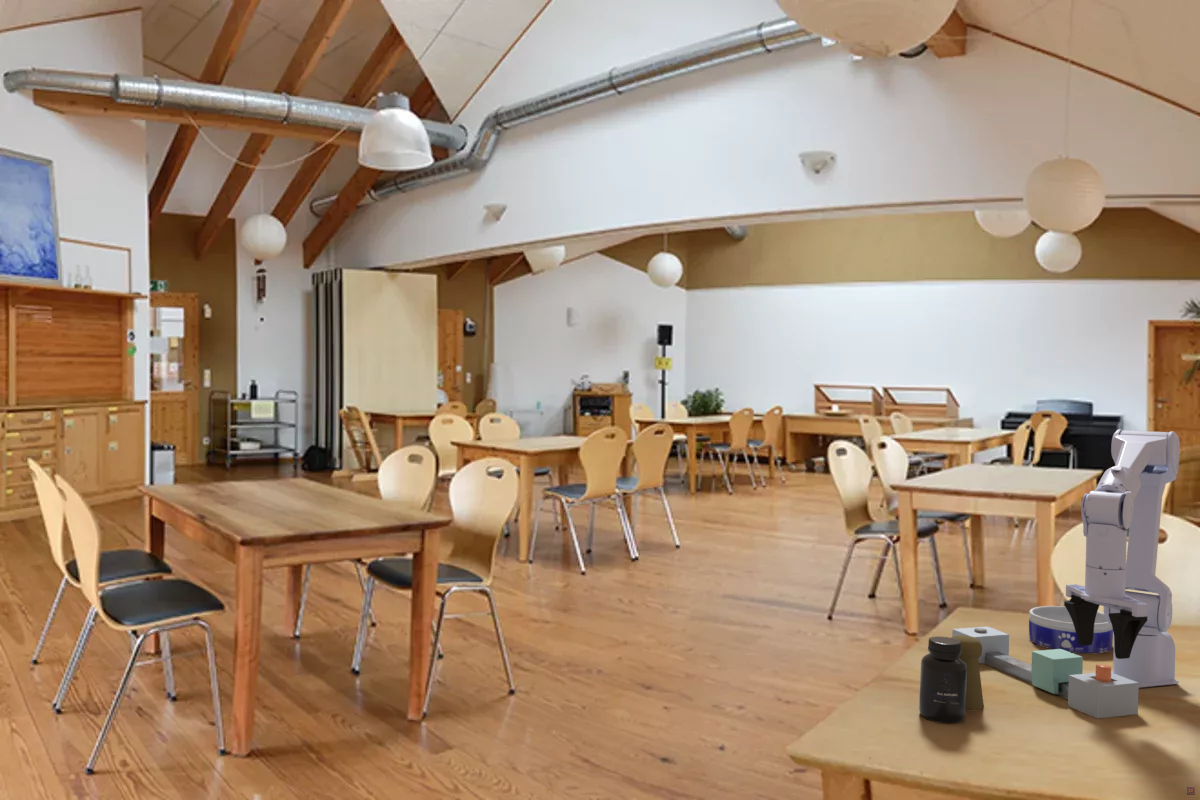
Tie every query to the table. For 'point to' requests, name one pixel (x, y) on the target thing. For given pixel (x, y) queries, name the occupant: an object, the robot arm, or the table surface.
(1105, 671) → the orange rounded knob
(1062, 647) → the dog bowl
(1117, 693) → the end cabinet
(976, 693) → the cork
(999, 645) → the far cabinet
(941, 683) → the supplement bottle
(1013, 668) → the rail
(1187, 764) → the table surface
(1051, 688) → the block
